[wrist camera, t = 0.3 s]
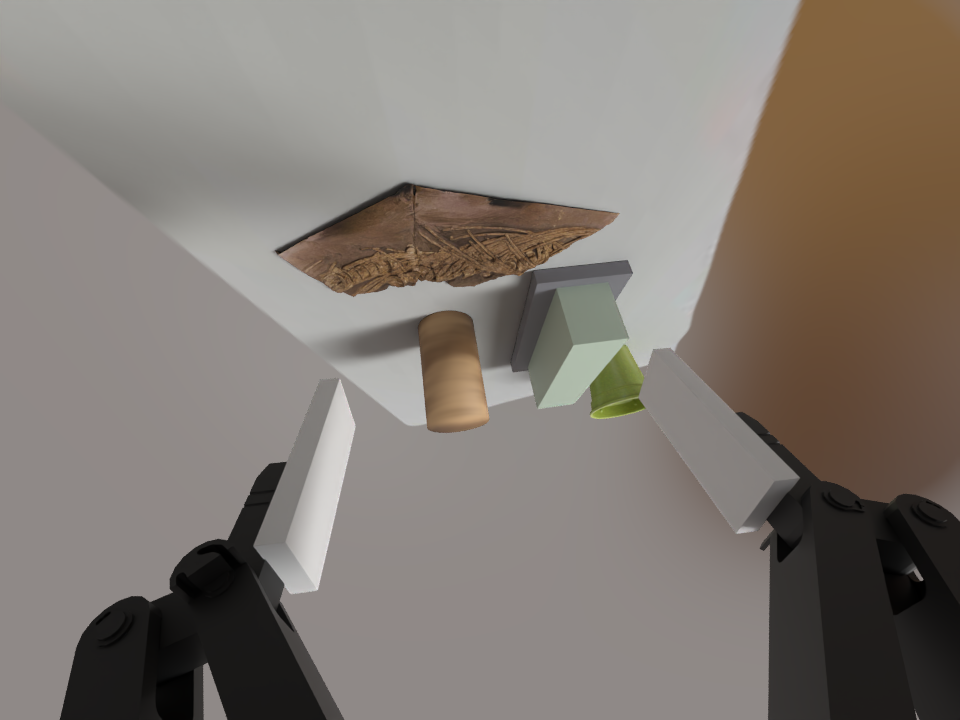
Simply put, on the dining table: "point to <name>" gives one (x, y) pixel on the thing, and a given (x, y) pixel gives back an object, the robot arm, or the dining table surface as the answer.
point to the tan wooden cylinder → (451, 373)
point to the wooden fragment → (439, 240)
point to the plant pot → (617, 387)
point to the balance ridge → (570, 329)
